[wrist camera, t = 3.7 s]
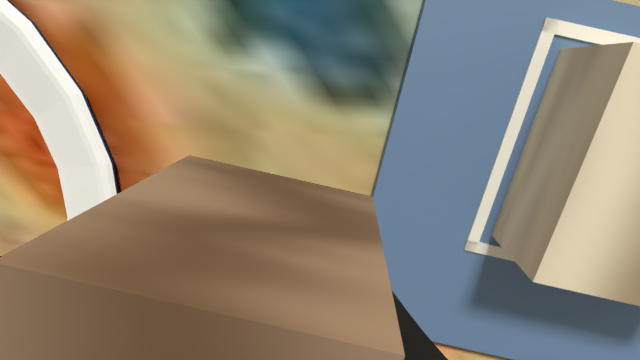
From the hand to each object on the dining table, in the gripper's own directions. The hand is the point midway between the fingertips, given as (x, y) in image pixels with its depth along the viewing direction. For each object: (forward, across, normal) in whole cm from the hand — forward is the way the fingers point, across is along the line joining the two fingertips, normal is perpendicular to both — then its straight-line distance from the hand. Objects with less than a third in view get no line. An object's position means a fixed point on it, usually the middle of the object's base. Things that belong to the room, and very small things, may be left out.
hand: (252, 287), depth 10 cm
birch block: (+8, -13, -4) cm, 16 cm away
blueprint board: (+9, -12, -2) cm, 15 cm away
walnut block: (+2, 0, 0) cm, 2 cm away
